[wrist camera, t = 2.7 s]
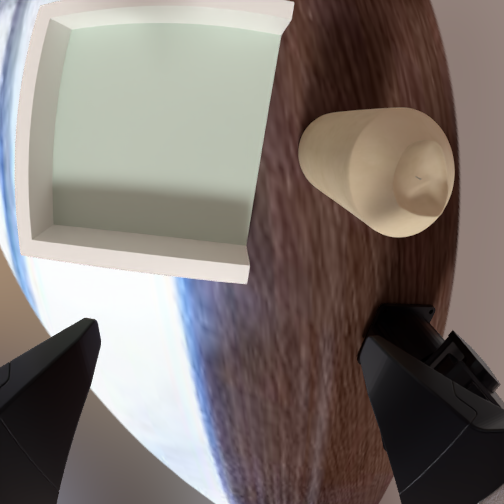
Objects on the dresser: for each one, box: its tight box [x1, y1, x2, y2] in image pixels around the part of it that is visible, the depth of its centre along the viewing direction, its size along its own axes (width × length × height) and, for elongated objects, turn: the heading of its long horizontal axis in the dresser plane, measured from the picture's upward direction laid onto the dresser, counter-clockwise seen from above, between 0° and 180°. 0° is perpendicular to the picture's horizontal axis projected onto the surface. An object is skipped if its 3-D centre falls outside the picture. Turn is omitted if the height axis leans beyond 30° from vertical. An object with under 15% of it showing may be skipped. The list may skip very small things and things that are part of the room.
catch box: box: [15, 0, 294, 284], centre depth 15 cm, size 15×16×4 cm
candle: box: [298, 108, 455, 237], centre depth 14 cm, size 6×6×10 cm
